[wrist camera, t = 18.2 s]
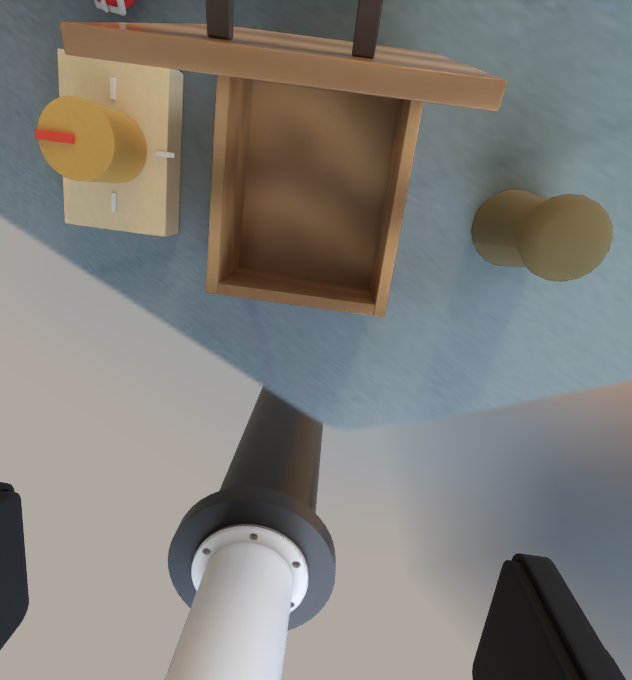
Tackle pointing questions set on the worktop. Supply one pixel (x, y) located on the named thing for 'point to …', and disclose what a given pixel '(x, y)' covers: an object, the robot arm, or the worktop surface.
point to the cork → (543, 233)
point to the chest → (308, 194)
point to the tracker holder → (114, 5)
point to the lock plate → (160, 136)
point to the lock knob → (90, 141)
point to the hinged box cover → (290, 57)
